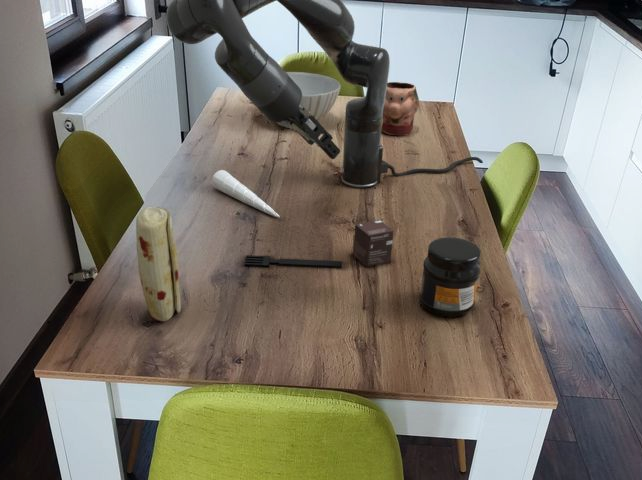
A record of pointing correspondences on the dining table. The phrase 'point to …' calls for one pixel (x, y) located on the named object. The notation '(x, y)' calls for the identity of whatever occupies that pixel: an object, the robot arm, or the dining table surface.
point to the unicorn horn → (239, 191)
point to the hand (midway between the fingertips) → (325, 147)
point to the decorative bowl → (315, 93)
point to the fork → (289, 262)
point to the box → (373, 243)
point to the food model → (158, 262)
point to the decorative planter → (399, 108)
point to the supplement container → (450, 276)
